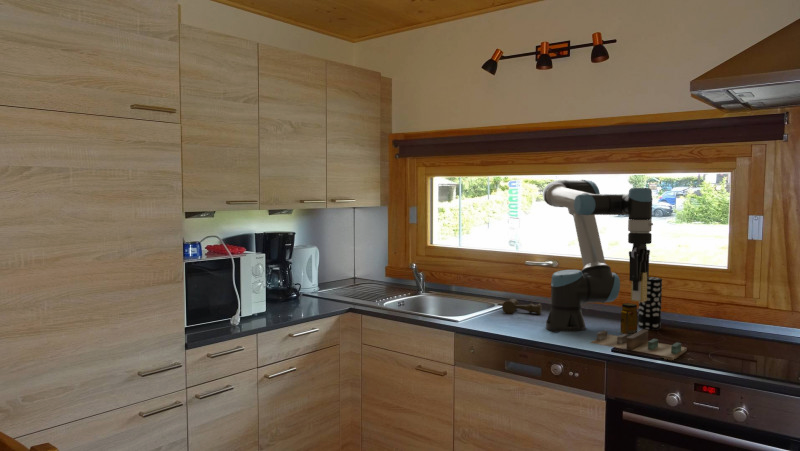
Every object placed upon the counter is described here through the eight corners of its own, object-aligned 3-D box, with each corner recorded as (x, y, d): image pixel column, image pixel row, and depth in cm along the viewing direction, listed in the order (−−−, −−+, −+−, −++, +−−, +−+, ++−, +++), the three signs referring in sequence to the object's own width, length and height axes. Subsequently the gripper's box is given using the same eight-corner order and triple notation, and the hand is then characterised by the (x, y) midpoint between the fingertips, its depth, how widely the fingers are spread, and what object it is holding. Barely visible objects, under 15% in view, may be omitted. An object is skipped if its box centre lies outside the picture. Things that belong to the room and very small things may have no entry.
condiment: (616, 332, 226) (617, 302, 225) (639, 333, 225) (640, 302, 224) (623, 337, 218) (623, 306, 218) (645, 337, 218) (647, 306, 217)
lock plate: (589, 345, 207) (589, 331, 206) (606, 336, 219) (607, 323, 219) (673, 360, 189) (673, 345, 188) (686, 350, 201) (687, 336, 200)
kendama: (539, 317, 254) (494, 312, 262) (542, 314, 263) (499, 309, 271) (539, 304, 254) (495, 299, 261) (543, 301, 263) (499, 296, 270)
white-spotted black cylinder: (662, 326, 236) (663, 277, 235) (658, 330, 229) (660, 280, 228) (640, 324, 240) (641, 276, 239) (636, 327, 234) (637, 278, 232)
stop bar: (630, 300, 202) (631, 272, 201) (635, 299, 205) (635, 271, 204) (642, 302, 199) (642, 273, 199) (646, 300, 202) (647, 272, 202)
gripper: (641, 233, 192) (640, 303, 193) (659, 231, 205) (658, 297, 205) (619, 232, 197) (618, 300, 198) (638, 231, 210) (637, 295, 211)
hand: (639, 299), depth 202 cm, fingers closed on stop bar, 4 cm apart
